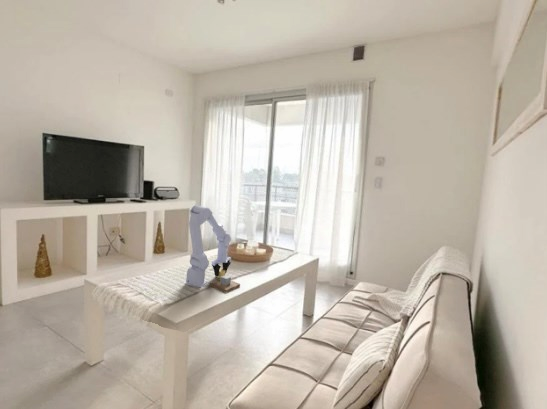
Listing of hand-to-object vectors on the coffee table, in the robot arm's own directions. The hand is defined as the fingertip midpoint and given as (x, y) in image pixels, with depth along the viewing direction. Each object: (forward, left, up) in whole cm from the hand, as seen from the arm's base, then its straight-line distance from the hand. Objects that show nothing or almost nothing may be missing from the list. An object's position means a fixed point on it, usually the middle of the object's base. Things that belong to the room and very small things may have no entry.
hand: (220, 274), depth 183 cm
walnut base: (+7, -12, -1) cm, 14 cm away
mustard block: (0, 0, -2) cm, 2 cm away
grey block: (+7, -12, 0) cm, 14 cm away
